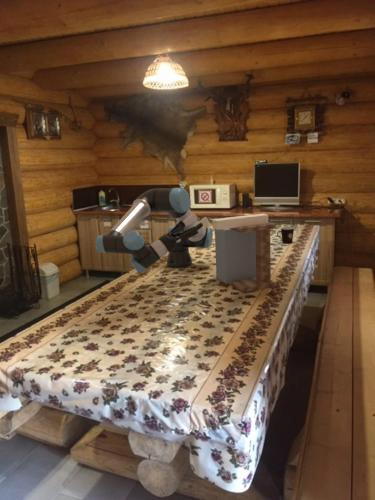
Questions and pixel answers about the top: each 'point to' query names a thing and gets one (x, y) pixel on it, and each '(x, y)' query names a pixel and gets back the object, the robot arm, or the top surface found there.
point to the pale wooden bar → (239, 221)
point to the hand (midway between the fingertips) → (201, 217)
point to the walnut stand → (258, 259)
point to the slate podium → (235, 255)
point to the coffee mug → (286, 234)
